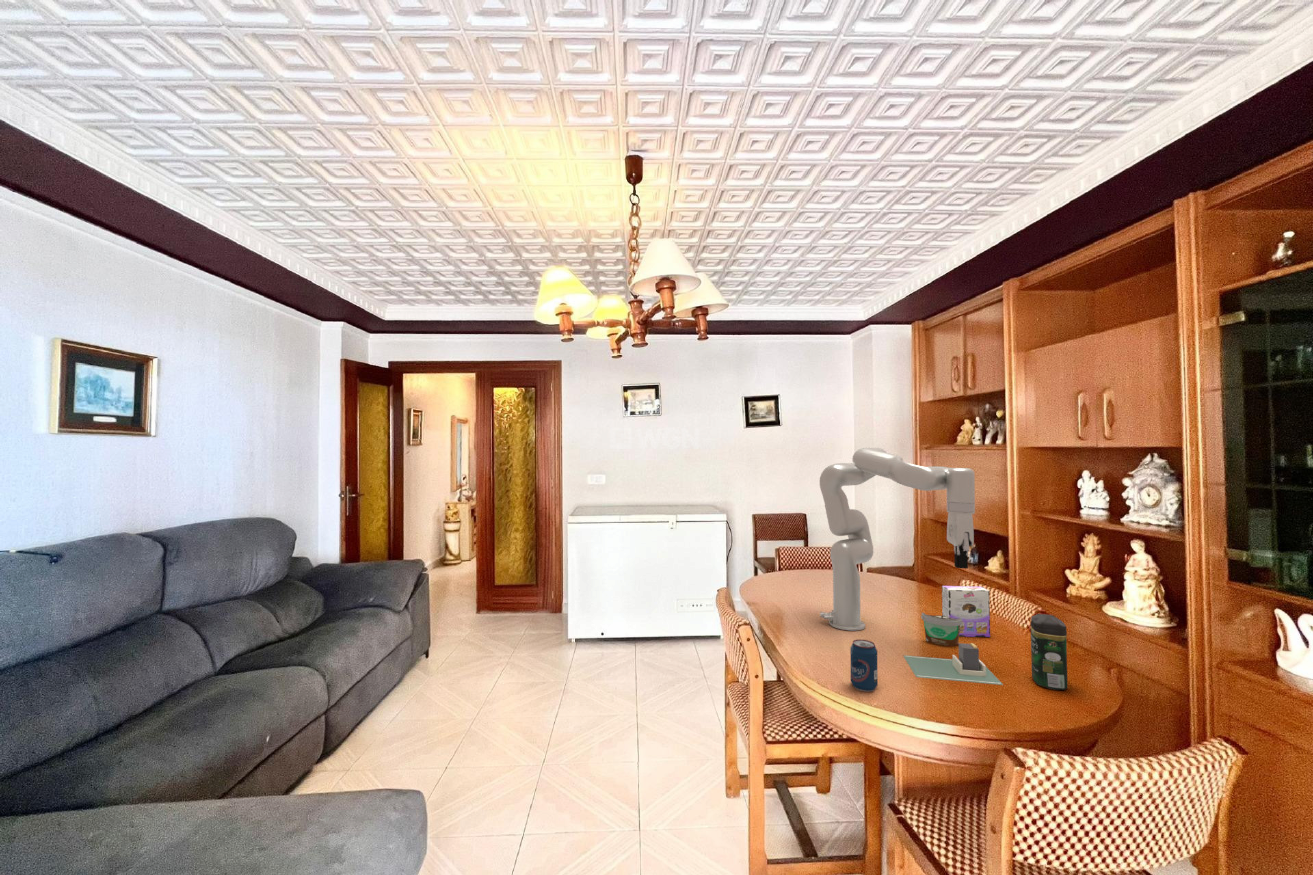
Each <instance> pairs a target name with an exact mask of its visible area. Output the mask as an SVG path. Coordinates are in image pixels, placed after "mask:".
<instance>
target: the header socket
mask: <svg viewBox="0 0 1313 875" xmlns="http://www.w3.org/2000/svg"><path fill="white" fill-rule="evenodd" d="M952 659H953V666H954V667H955V669H956V670H957V671H958V672H959V674H961V675H973V676H984V677H986V667H987V666H986V664H985V663H984V662H983V661H981V660H980V658H979V671H973V670H962V663H961V662H960V661H959V657H957V656H956V654H952Z"/></svg>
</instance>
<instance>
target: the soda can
mask: <svg viewBox="0 0 1313 875" xmlns="http://www.w3.org/2000/svg"><path fill="white" fill-rule="evenodd" d="M849 649H850V682H851V684H852V686H853V688H855V689H856V690H858V691H861V692H869V693H870V692H873V691H875V690H876V688H877V687H878V678H879V677H878V649H877V648H876V644H875V643H874V642H873V641H871V640H867V639H854V640H853V641H852V644H851V645H850V648H849Z"/></svg>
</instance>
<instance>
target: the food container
mask: <svg viewBox="0 0 1313 875" xmlns="http://www.w3.org/2000/svg"><path fill="white" fill-rule="evenodd" d="M920 618H921V620H923V626H924V627H923V628H924V635H925V641H926V642H930V643H932V644H935V645H939V646H946V647H952V646H957V645H959V638H960V636H959V630H960V625H962V624H963V622H962V619H961V616H960V618H958V619H955V618H949V617H945V616H942V615H940V614H939V615H933V614H932V615H931V614H926V613H924V612H921V616H920Z"/></svg>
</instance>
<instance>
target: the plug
mask: <svg viewBox="0 0 1313 875" xmlns="http://www.w3.org/2000/svg"><path fill="white" fill-rule="evenodd" d="M979 649H980V648H978V646H977V645H976V644H975V643H962V642H958V660H959V661H960V662H961V663H962V670H973V671H979V659H980V654H979V653H980V650H979Z"/></svg>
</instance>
